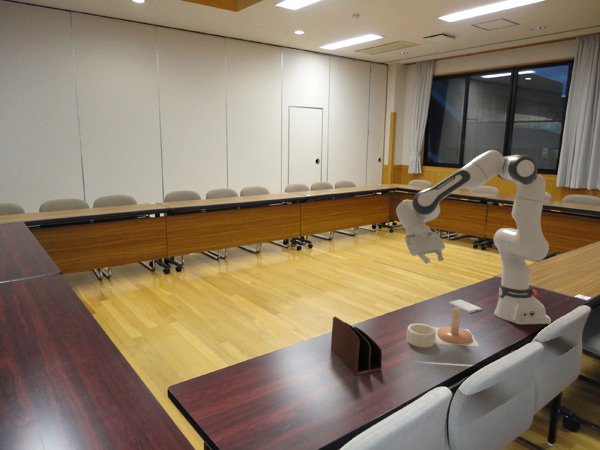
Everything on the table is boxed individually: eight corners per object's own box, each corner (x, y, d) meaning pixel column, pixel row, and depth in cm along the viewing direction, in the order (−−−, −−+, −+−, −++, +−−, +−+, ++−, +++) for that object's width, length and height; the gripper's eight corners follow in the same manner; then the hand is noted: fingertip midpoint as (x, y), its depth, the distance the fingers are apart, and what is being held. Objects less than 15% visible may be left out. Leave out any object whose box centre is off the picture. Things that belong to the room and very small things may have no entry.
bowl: (431, 337, 167) (432, 324, 166) (436, 349, 157) (437, 335, 156) (405, 335, 169) (406, 322, 168) (408, 347, 159) (409, 334, 158)
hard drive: (448, 301, 202) (470, 310, 192) (460, 299, 206) (482, 307, 195) (448, 305, 203) (469, 314, 192) (460, 302, 206) (481, 311, 196)
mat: (468, 330, 174) (468, 329, 174) (479, 347, 159) (479, 346, 159) (431, 328, 175) (431, 327, 175) (438, 345, 161) (438, 343, 161)
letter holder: (355, 376, 139) (357, 336, 136) (330, 349, 157) (331, 313, 155) (381, 370, 143) (384, 332, 140) (354, 344, 161) (355, 310, 158)
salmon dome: (466, 330, 173) (469, 302, 170) (476, 345, 160) (478, 315, 158) (434, 328, 174) (436, 300, 172) (440, 342, 162) (443, 313, 159)
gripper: (408, 231, 174) (425, 260, 168) (437, 228, 186) (454, 255, 181) (398, 239, 178) (414, 268, 173) (428, 236, 191) (443, 262, 185)
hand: (435, 261), depth 177 cm, fingers open, 8 cm apart
